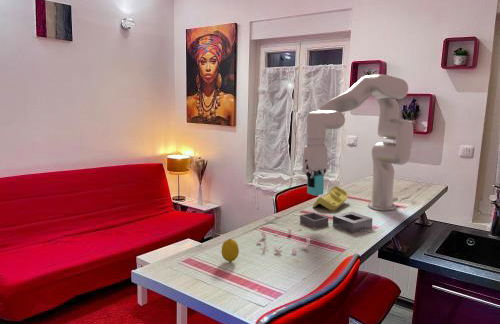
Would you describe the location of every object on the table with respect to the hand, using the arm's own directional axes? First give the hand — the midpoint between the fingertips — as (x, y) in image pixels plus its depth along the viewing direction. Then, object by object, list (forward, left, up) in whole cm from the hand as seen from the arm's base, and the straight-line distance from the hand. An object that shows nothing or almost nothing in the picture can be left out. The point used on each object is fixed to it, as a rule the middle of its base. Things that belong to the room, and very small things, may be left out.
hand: (315, 185), depth 154 cm
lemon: (+48, +14, -16) cm, 53 cm away
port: (-10, +12, -16) cm, 22 cm away
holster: (0, 0, -16) cm, 16 cm away
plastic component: (-25, -15, -17) cm, 34 cm away
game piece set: (+24, +11, -17) cm, 31 cm away
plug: (0, 0, -3) cm, 3 cm away
